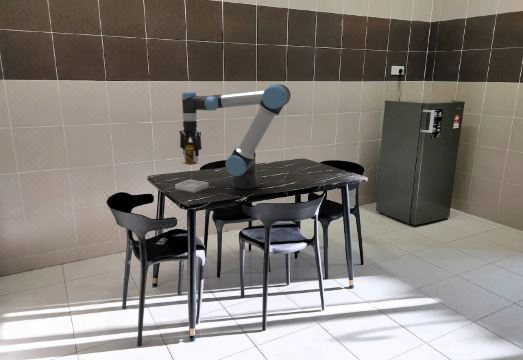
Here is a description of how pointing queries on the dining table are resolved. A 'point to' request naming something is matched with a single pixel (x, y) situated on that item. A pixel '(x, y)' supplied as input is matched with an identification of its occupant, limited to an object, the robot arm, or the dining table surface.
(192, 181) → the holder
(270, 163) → the dining table surface
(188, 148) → the condiment
